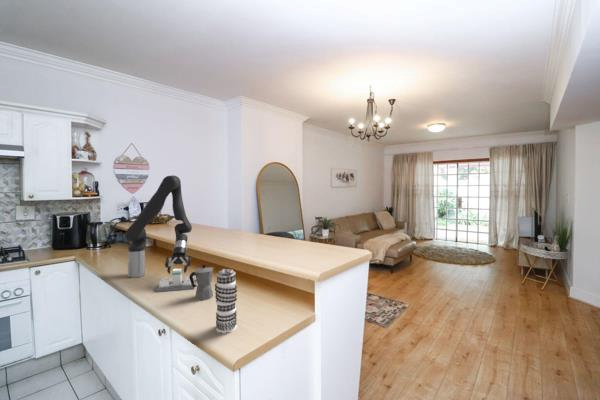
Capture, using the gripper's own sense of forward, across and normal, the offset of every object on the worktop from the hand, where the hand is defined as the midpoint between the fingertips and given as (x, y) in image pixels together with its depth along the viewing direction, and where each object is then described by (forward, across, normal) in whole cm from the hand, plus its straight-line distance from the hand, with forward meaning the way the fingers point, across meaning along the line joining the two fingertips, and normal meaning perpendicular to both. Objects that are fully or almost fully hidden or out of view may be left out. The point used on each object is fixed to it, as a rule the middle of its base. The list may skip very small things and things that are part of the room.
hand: (176, 272), depth 159 cm
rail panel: (+6, 0, +6) cm, 9 cm away
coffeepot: (+20, +16, -8) cm, 27 cm away
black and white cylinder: (+45, +29, -32) cm, 63 cm away
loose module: (+5, 0, +6) cm, 7 cm away
